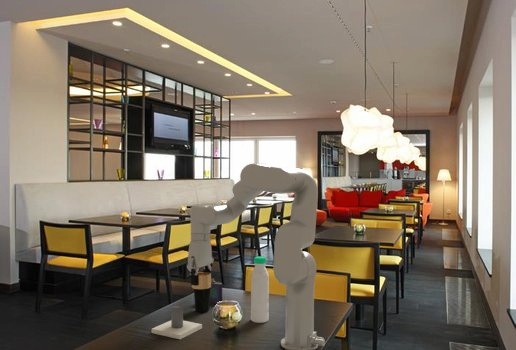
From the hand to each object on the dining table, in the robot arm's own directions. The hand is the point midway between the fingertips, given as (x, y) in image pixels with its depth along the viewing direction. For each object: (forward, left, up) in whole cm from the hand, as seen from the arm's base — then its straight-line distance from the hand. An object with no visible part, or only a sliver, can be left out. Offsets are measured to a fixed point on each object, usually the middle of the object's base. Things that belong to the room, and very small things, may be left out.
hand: (201, 282), depth 177 cm
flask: (+11, -25, -16) cm, 31 cm away
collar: (0, 0, -2) cm, 2 cm away
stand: (+2, +11, -16) cm, 19 cm away
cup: (+8, -13, -16) cm, 22 cm away
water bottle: (-19, -14, -16) cm, 28 cm away
